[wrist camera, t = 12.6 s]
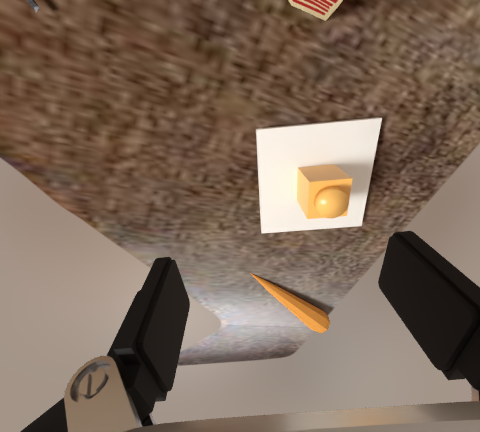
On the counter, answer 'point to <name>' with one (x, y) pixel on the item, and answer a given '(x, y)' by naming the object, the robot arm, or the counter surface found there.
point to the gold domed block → (323, 191)
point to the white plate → (313, 154)
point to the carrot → (299, 307)
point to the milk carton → (317, 7)
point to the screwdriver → (33, 5)
